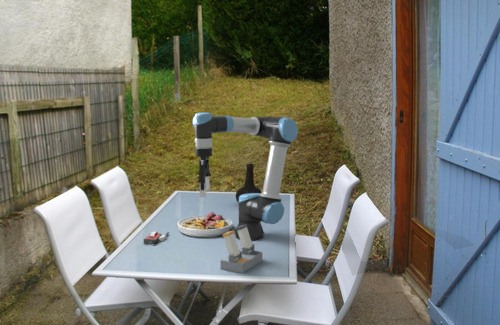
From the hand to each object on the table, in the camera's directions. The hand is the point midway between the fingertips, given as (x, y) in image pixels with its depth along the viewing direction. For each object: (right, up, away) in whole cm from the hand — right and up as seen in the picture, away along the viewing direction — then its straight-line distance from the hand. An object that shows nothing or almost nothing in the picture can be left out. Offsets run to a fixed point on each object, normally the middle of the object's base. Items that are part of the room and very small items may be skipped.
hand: (204, 193), depth 242 cm
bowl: (-4, -24, +51) cm, 56 cm away
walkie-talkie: (-28, -26, +34) cm, 51 cm away
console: (+17, -32, -3) cm, 36 cm away
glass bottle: (+20, -15, +111) cm, 114 cm away
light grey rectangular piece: (+20, -26, +2) cm, 32 cm away
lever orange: (+14, -27, -9) cm, 32 cm away
